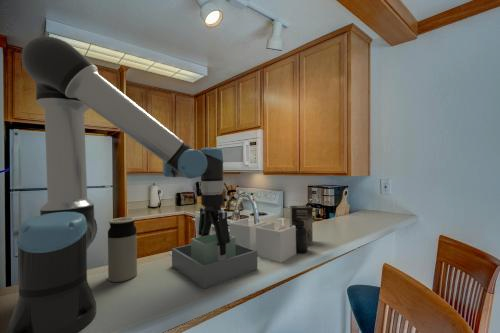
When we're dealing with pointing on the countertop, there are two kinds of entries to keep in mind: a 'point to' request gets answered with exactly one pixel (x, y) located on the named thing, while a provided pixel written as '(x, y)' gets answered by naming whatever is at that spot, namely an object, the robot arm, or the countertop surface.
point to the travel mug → (122, 249)
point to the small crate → (210, 249)
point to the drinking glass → (197, 219)
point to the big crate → (214, 265)
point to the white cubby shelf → (265, 239)
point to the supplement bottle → (300, 236)
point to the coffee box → (306, 216)
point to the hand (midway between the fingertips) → (213, 260)
